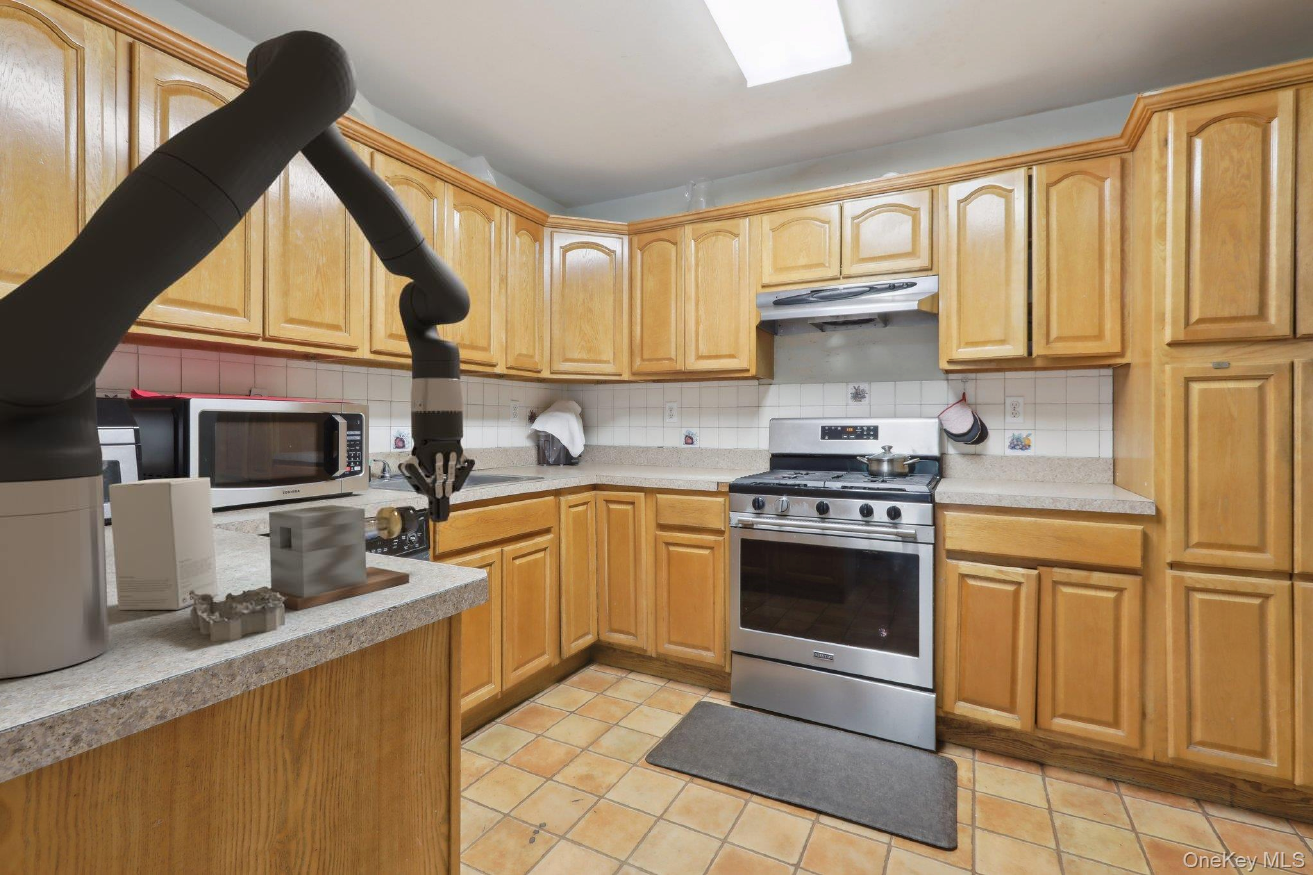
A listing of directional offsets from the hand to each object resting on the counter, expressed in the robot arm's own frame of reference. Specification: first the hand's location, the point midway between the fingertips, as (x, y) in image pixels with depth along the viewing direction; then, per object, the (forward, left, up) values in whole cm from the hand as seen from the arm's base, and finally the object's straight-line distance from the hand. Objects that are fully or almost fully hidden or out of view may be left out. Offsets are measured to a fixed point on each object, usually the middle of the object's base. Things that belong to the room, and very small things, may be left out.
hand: (439, 521), depth 96 cm
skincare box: (-31, +13, -7) cm, 34 cm away
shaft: (-12, 0, -1) cm, 12 cm away
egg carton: (-30, -4, -7) cm, 31 cm away
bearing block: (-16, 0, -7) cm, 18 cm away
